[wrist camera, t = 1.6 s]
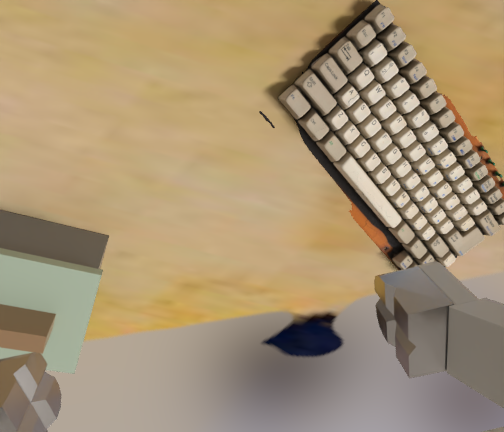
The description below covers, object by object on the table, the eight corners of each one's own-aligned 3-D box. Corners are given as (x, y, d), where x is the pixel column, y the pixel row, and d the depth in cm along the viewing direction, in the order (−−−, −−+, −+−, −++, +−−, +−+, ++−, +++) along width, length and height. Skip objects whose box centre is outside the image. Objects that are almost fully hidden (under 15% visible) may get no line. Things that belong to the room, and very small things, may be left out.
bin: (-27, 299, 52) (-59, 345, 45) (-15, 206, 47) (-50, 241, 40) (86, 319, 56) (72, 363, 49) (109, 235, 51) (97, 272, 44)
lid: (-60, 341, 46) (-89, 380, 41) (-50, 231, 40) (-82, 261, 35) (78, 360, 50) (66, 398, 45) (104, 264, 44) (95, 295, 40)
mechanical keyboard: (253, 112, 47) (258, 119, 44) (382, -13, 43) (397, -15, 40) (411, 283, 63) (422, 296, 60) (515, 203, 59) (532, 214, 57)
